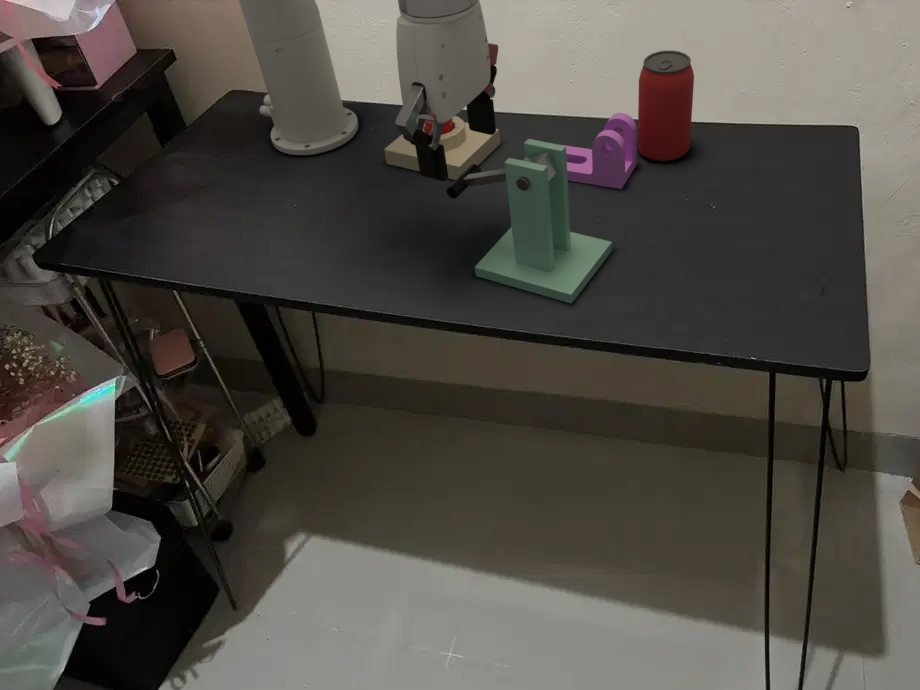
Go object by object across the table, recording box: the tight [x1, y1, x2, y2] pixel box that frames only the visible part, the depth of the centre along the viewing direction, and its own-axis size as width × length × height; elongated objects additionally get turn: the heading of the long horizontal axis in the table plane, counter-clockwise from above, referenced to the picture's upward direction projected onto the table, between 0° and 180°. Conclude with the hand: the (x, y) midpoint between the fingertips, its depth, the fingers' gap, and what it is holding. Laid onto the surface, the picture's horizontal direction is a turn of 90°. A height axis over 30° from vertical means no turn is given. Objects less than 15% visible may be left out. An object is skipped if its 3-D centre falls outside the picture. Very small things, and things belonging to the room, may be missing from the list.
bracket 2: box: [561, 112, 638, 190], centre depth 104 cm, size 13×6×7 cm, turn 65°
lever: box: [446, 153, 556, 200], centre depth 88 cm, size 12×5×2 cm, turn 59°
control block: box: [383, 115, 501, 181], centre depth 111 cm, size 12×10×4 cm
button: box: [425, 112, 453, 135], centre depth 110 cm, size 4×4×2 cm
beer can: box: [637, 50, 695, 162], centre depth 104 cm, size 7×7×12 cm
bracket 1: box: [474, 138, 613, 305], centre depth 89 cm, size 12×10×14 cm
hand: (459, 153), depth 90 cm, fingers open, 9 cm apart
